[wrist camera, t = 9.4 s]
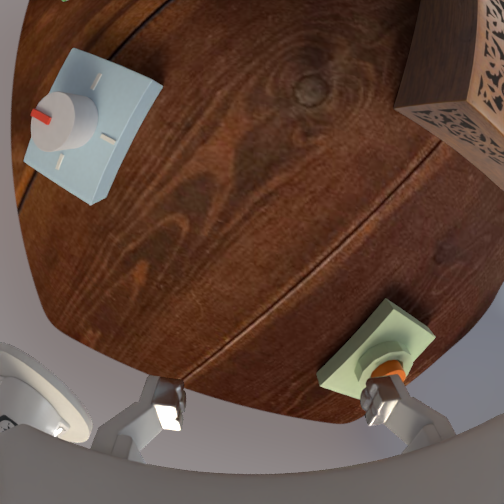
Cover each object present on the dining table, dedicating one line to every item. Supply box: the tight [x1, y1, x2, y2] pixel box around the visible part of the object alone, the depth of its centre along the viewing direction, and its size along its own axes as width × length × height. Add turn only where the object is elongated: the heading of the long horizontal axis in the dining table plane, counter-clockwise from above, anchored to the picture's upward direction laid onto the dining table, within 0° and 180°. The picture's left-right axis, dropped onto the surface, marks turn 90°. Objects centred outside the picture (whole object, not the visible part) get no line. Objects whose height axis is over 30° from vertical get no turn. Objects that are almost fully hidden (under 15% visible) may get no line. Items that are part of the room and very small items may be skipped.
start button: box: [371, 360, 406, 382], centre depth 26 cm, size 4×4×2 cm
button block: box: [316, 298, 435, 399], centre depth 28 cm, size 12×9×4 cm
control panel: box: [24, 48, 163, 205], centre depth 19 cm, size 11×9×3 cm
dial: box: [31, 91, 98, 152], centre depth 16 cm, size 4×4×4 cm
